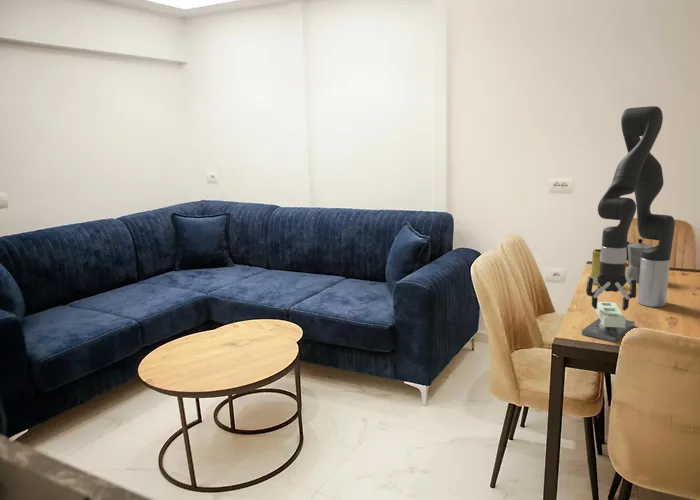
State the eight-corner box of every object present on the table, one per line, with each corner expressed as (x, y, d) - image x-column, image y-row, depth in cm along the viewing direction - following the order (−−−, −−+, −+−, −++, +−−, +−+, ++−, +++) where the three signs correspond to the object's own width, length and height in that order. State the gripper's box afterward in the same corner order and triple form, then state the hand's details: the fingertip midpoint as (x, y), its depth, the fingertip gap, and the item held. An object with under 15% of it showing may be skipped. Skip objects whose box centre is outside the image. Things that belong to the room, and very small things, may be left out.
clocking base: (603, 319, 182) (604, 302, 181) (634, 325, 175) (635, 308, 174) (581, 334, 170) (582, 316, 169) (614, 342, 163) (615, 323, 162)
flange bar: (595, 310, 180) (595, 301, 179) (614, 310, 178) (614, 302, 178) (603, 326, 165) (604, 317, 164) (625, 327, 163) (625, 318, 163)
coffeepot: (658, 283, 221) (662, 240, 217) (639, 285, 219) (642, 242, 215) (631, 274, 236) (634, 234, 232) (613, 276, 234) (615, 236, 230)
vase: (607, 285, 221) (609, 252, 218) (591, 285, 222) (593, 252, 219) (603, 281, 226) (605, 249, 223) (588, 281, 228) (590, 248, 225)
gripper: (590, 262, 166) (587, 311, 169) (641, 263, 162) (636, 314, 165) (586, 256, 173) (583, 304, 176) (635, 258, 169) (631, 306, 173)
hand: (609, 309), depth 171 cm, fingers open, 8 cm apart
